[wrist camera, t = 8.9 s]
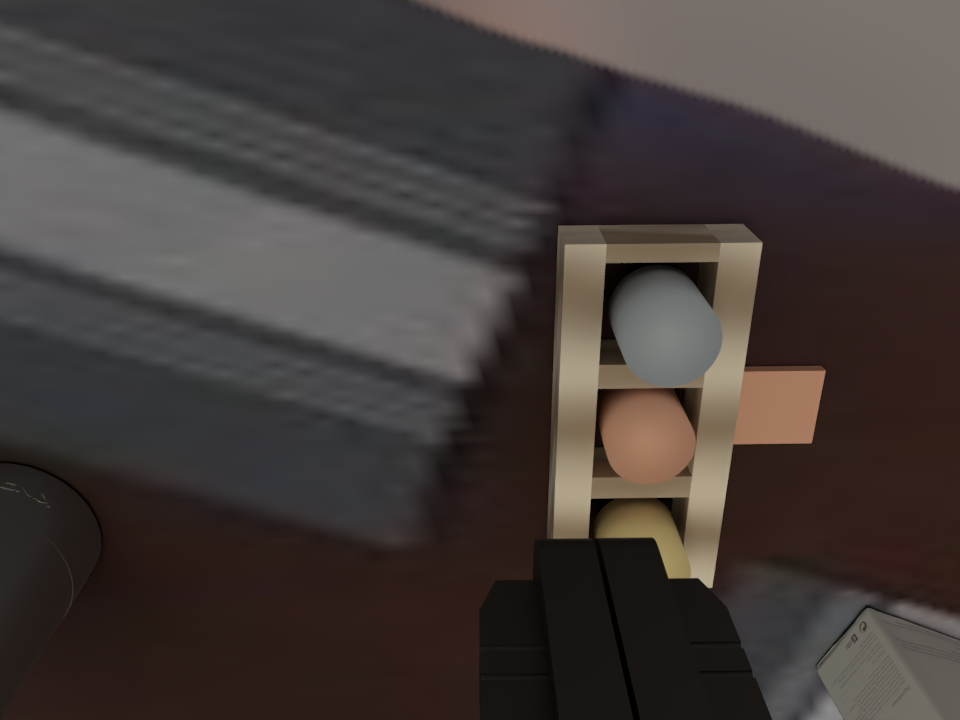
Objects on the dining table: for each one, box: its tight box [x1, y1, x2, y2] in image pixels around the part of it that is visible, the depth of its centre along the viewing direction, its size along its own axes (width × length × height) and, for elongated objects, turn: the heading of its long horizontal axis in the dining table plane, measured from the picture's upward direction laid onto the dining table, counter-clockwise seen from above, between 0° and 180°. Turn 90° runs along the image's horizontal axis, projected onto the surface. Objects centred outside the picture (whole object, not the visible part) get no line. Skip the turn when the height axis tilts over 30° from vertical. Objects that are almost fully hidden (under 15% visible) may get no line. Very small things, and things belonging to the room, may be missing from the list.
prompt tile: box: [733, 366, 826, 444], centre depth 45 cm, size 4×4×1 cm
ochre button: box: [593, 498, 691, 578], centre depth 44 cm, size 4×4×4 cm
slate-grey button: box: [608, 265, 723, 387], centre depth 38 cm, size 4×4×4 cm
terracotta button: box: [596, 388, 696, 484], centre depth 43 cm, size 4×4×4 cm
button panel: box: [547, 224, 763, 588], centre depth 44 cm, size 20×9×3 cm, turn 0°
